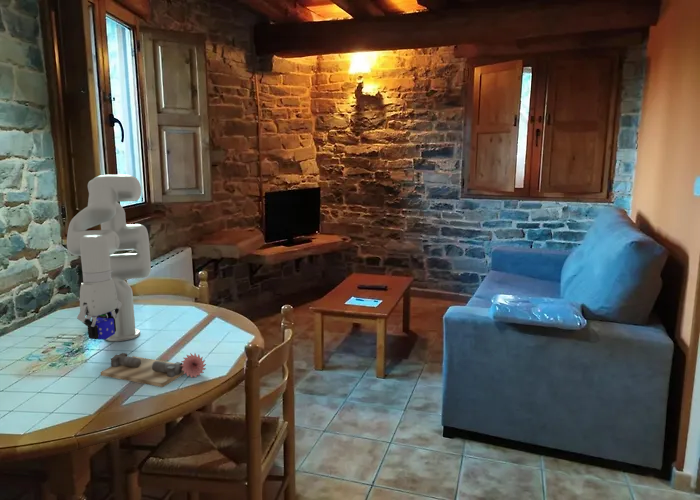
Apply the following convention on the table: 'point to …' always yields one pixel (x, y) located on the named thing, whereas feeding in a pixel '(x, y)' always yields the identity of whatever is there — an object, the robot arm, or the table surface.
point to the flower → (193, 365)
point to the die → (105, 327)
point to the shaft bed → (143, 370)
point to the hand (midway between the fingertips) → (102, 334)
